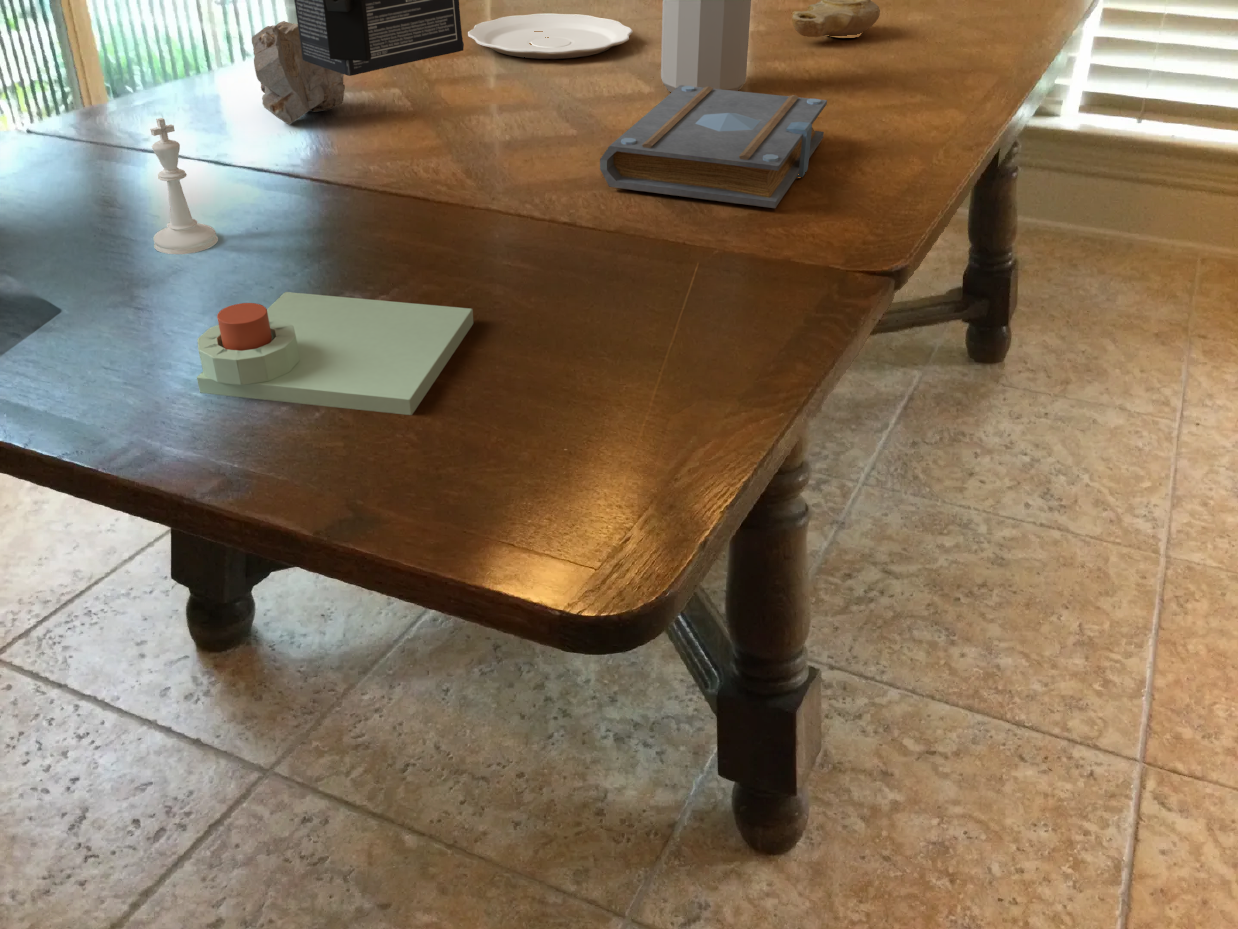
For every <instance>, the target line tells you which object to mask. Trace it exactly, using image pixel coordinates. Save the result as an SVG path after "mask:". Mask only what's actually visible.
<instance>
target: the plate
mask: <svg viewBox="0 0 1238 929" xmlns="http://www.w3.org/2000/svg"><path fill="white" fill-rule="evenodd" d="M534 31H543V32H534ZM632 34H633V29H632V28H631V27H629V26H627V25H624V24H623V23H622V22H620V21H618V20H615V19H611V18H604V17H598V16H593V15H590V14H589V15H588V14H579V13H577V14H575V13H551V12H548V13H547V12H546V13H542V12H541V13H533V14H531V13H530V14H520V15H518V14H517V15H508V16H501V17H498V18H495V19H491V20H485V21H482V22H479V23H477V24H475V25H474V27H473V28H472V29H470V30H469V31H467V37H469V39H472V40H474V42H475V43H476V44H477V45H480V46H482V47H485V48H490V49H491V50H493V51H494V52H497V53H498V54H499V53H500V54H503V55H507V56H510V57H517V58H524V57H525V59H538V60H542V59H543V60H549V59H550V60H560V59H574V58H582V57H588V56H592V55H597V54H601V53H603V52H605V51H608V50H610V49H611V48H612V47H615V46H619V45H622V44H625V43H626V42H628V41H629V40H630V38H629V37H630V36H631V35H632ZM545 37H546V38H545ZM547 37H549V38H547ZM529 43H531V44H532V45H530V44H529Z"/></svg>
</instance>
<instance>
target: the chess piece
mask: <svg viewBox="0 0 1238 929" xmlns="http://www.w3.org/2000/svg"><path fill="white" fill-rule="evenodd" d="M156 124H157V127H153V128H150V134H151V136H153V137H156V136H159V139H160V140H158V141H156V142H154V143H153V144H152V146H151V149H152V151H153V153H154V154H155V156H156V157H157V159H158V161H159V163H160V165H161V167H162V168H163V169H162V170H161V171H159V172H158V173H157V179H158V180H159V181H163V182H166V184H167V185H166V186H167V192H168V193H167V194H168V205H169V206H168V207H169V222H167V224H166V227H164V228H162V229H160V230H158V231H157V232H156V233H155V234H154V236H153V238H152V239H153V242H154V243H153V248H154V250H156V251H157V252H159V253H162V254H167V255H168V254H169V255H187V254H195V253H199V252H202V251H205V250H208V249H210V248H212V247H213V246H215V245H216V244H217V243H218V241H219V237H218V236H217V232H216V230H215V229H214V227H212V226H210V225H208V224H205V223H198V220H196V219H195V218H193V216H192V213H191V211H190V208H189V205H188V202H187V199H186V196H185V193H184V190H183V187H182V184H181V181H180V180H183V179H185V178H186V177H187V176H188V175H187V172H186V170H184V169H181V168H179V167H178V165H179V164H178V163H179V155H180V149H181V144H180V143H179V141H176V140H173V139H169V134H168V133H174V132H175V125H174V124H166V119H165V118H163V117H158V118H156Z"/></svg>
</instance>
